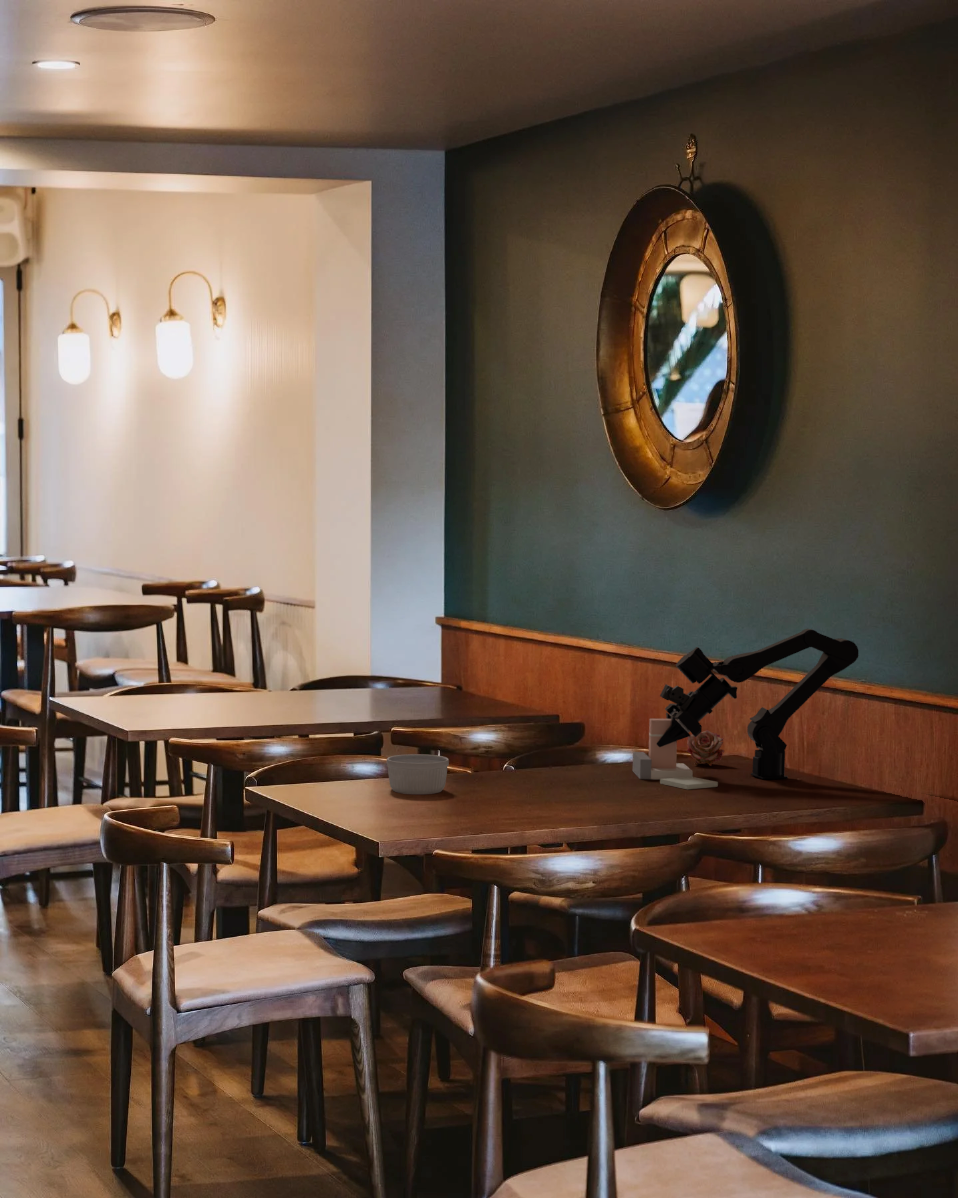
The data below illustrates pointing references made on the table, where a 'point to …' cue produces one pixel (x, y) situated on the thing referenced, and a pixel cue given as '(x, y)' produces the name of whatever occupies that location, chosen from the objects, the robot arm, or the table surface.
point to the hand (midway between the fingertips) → (656, 744)
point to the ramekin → (417, 773)
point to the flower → (705, 747)
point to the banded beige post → (666, 753)
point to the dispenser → (657, 769)
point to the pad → (688, 782)
